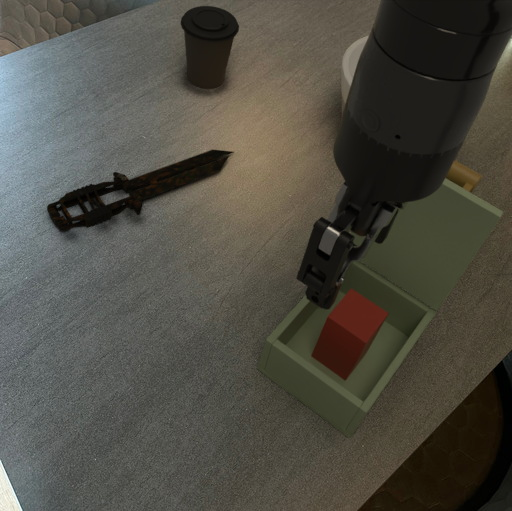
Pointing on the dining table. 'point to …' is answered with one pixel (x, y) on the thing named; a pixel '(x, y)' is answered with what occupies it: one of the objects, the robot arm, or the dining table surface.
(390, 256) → the lid
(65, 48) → the dining table surface
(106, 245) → the dining table surface
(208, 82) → the coffee cup
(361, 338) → the block
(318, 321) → the chest
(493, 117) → the dining table surface
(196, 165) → the knife
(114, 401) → the dining table surface
